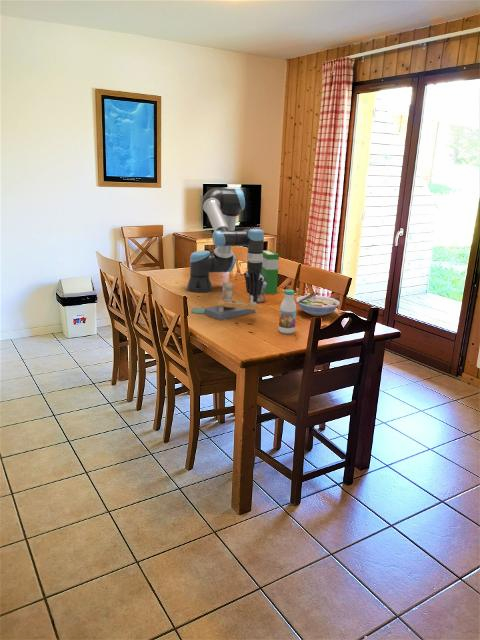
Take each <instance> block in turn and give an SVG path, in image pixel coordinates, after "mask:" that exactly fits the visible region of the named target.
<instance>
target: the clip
mask: <svg viewBox="0 0 480 640" xmlns="http://www.w3.org/2000/svg"><path fill="white" fill-rule="evenodd" d="M242 303H243V302H242ZM242 303H232V302H225V301H222V300H218V301H217V306H218V307H232V308H242V309H251V310H255V311H259V304H256V305H252V304H250V303H245V304H242Z"/></svg>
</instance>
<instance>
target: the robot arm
mask: <svg viewBox="0 0 480 640" xmlns="http://www.w3.org/2000/svg"><path fill="white" fill-rule="evenodd" d="M201 207H202V209H203V211H204V212H205V213H206V215H207V217H208V220H209V222H210V225H211V226H212V229H213V233H212V236H211V237H212V244H213V245H214V246H215V248H214V250H213V252H212V253H211V252H210V251H209V250H197V251H194V252H192V253H191V254H190V257H189V258H190V259H189V279H188V282H187V285H186V290H187V291H188V292H192V293H208V292H211V291H212V290H213V286H212V282H211V279H210V273H230V272H232V271H233V270H234V268H235V264H236V255H235V254H234V252H233V250H232V247H247V262H246V269H247V271H246V272H245V273H243V276H244V278H245V279H244V281H245V288H246V294H247V293H248V295H249V301H250V303H249V304H252V305H257V303H258V302H257V296H258V295H260V294H261V290H262V286H263V281H264V280H265V277H263V276H262V274H261V270H262V264H263V263H262V262H261V261H263V251H264V243H265V239H264V238H265V235H264V234H265V232H264V230H263V229H260V228H250V229H243V230H235V228H236V222H237V217H238V216H239V215H240V214H241V211H244V210H245V207H246V200H245V194H244V191H243V190H242V189H240V188H218V187H216V188H211V189H209V190H208V191H206V193H205V194H204V195H203V197H202V199H201Z"/></svg>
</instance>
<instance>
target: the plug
mask: <svg viewBox="0 0 480 640" xmlns="http://www.w3.org/2000/svg"><path fill="white" fill-rule="evenodd" d="M233 284H234V283H233V282H231V281H224V282H222V299H221V301H225V302H232V303H236V302H237V301H235V300H233V286H234V285H233ZM224 309H225V310H228V309H232V307H224Z"/></svg>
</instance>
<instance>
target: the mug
mask: <svg viewBox="0 0 480 640" xmlns="http://www.w3.org/2000/svg"><path fill="white" fill-rule="evenodd" d="M266 285H267V283H266V282H263V286H262V290H261V294H260V295H258V296H257V302H256V303H263V302H266V295H265V294H264V292H265V288H266Z"/></svg>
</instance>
